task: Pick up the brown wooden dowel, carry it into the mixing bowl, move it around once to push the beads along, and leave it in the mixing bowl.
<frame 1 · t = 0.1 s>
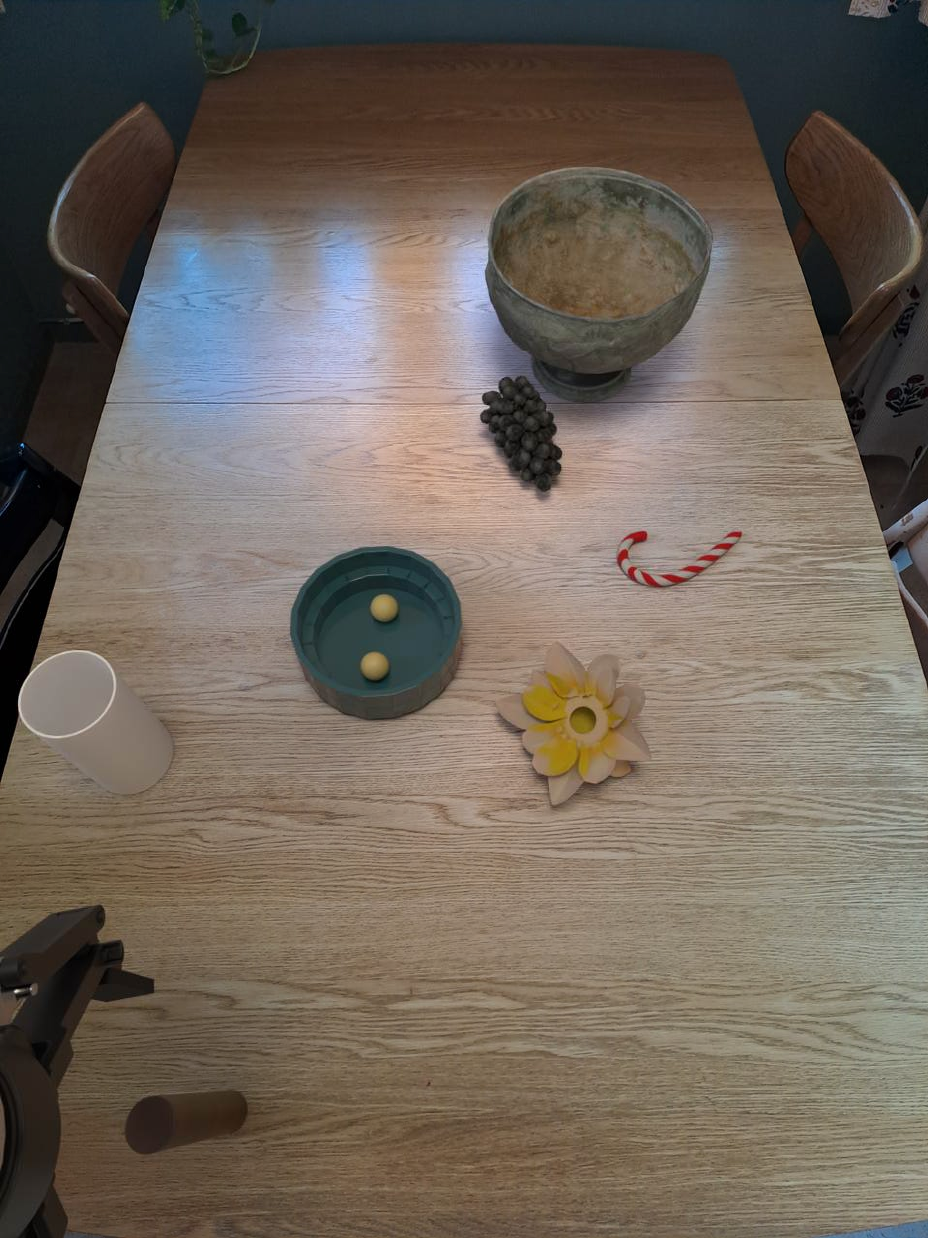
hand: (130, 1126, 45), 29 cm above the table, tool pointing down, fingers open, 13 cm apart
candy cane: (679, 552, 97), on the table
brown wooden dowel: (228, 1112, 70), on the table
bead a: (384, 608, 91), point 2 cm above the table, touching mixing bowl
decorative bowl: (577, 365, 111), on the table
bead b: (374, 666, 87), point 2 cm above the table, touching mixing bowl
mixing bowl: (381, 646, 91), on the table
decorative flower: (567, 731, 87), on the table
fruit: (521, 458, 104), on the table
cup: (133, 756, 85), on the table
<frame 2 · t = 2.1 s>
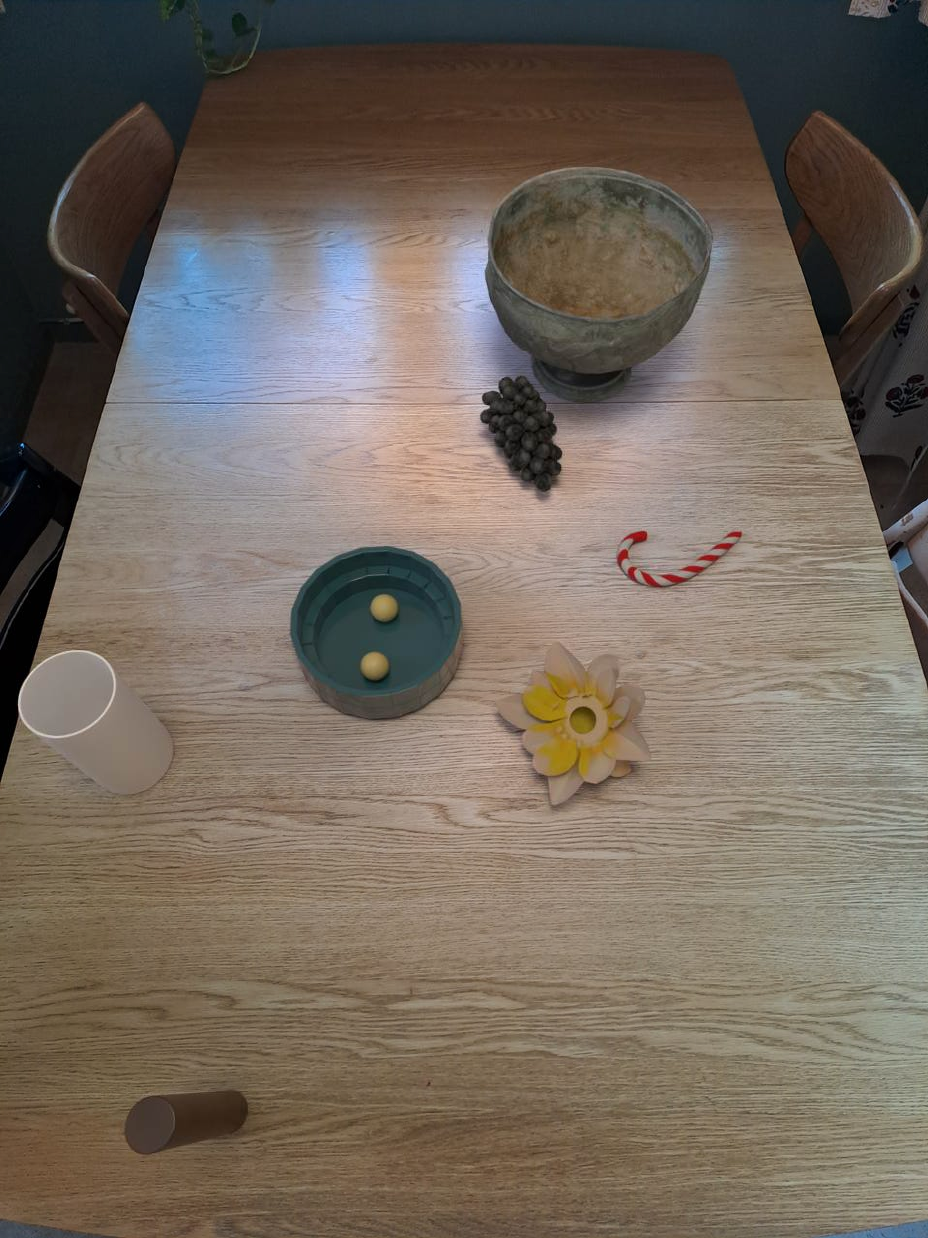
nothing on the table moved.
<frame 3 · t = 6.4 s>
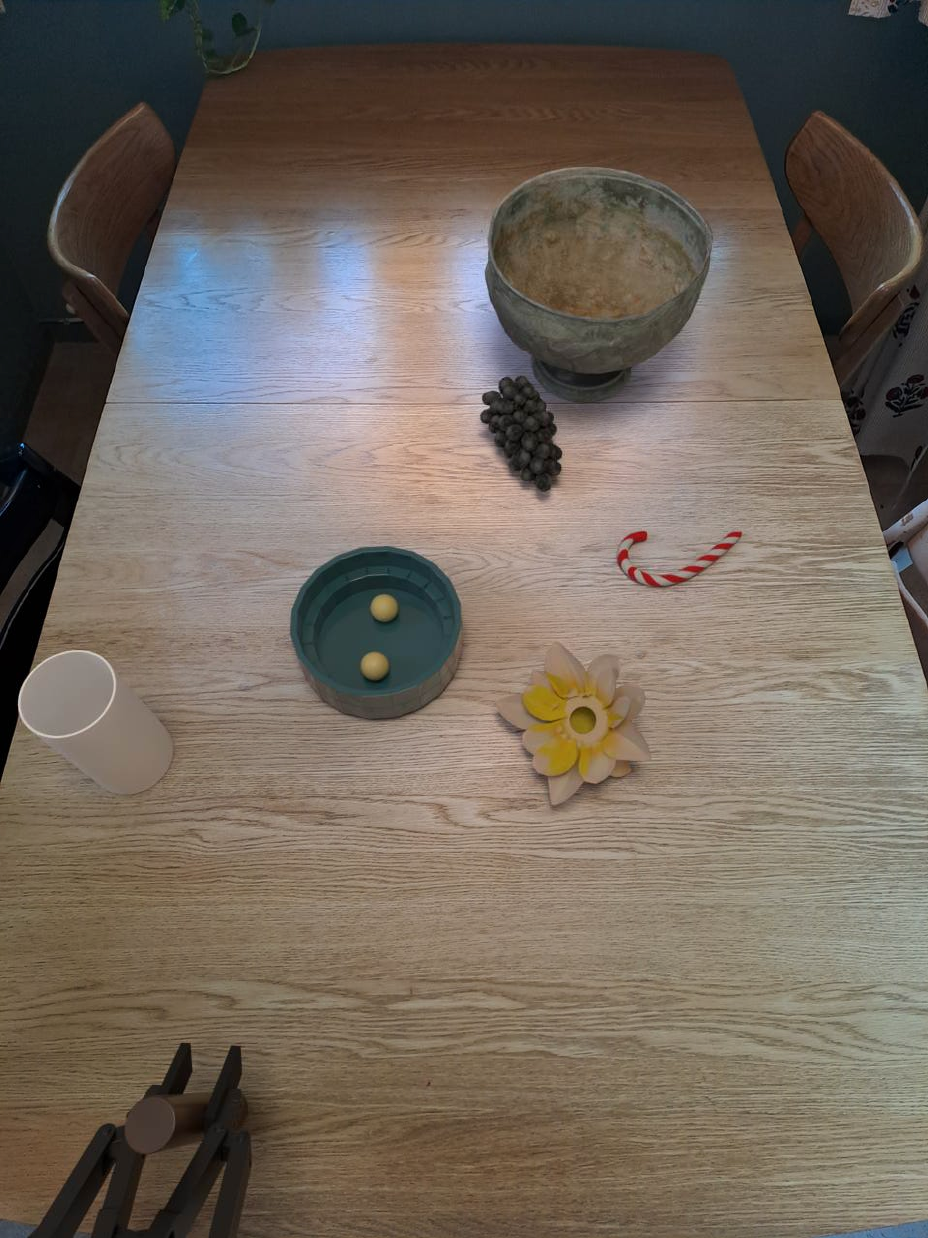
hand: (211, 1058, 65), 8 cm above the table, tool tilted 45°, fingers closed on brown wooden dowel, 3 cm apart
brown wooden dowel: (228, 1112, 70), on the table, touching gripper
everything else where it was.
when the fingers open (9 cm above the table, at t = 22.2 s): brown wooden dowel stays where it is, resting on mixing bowl.
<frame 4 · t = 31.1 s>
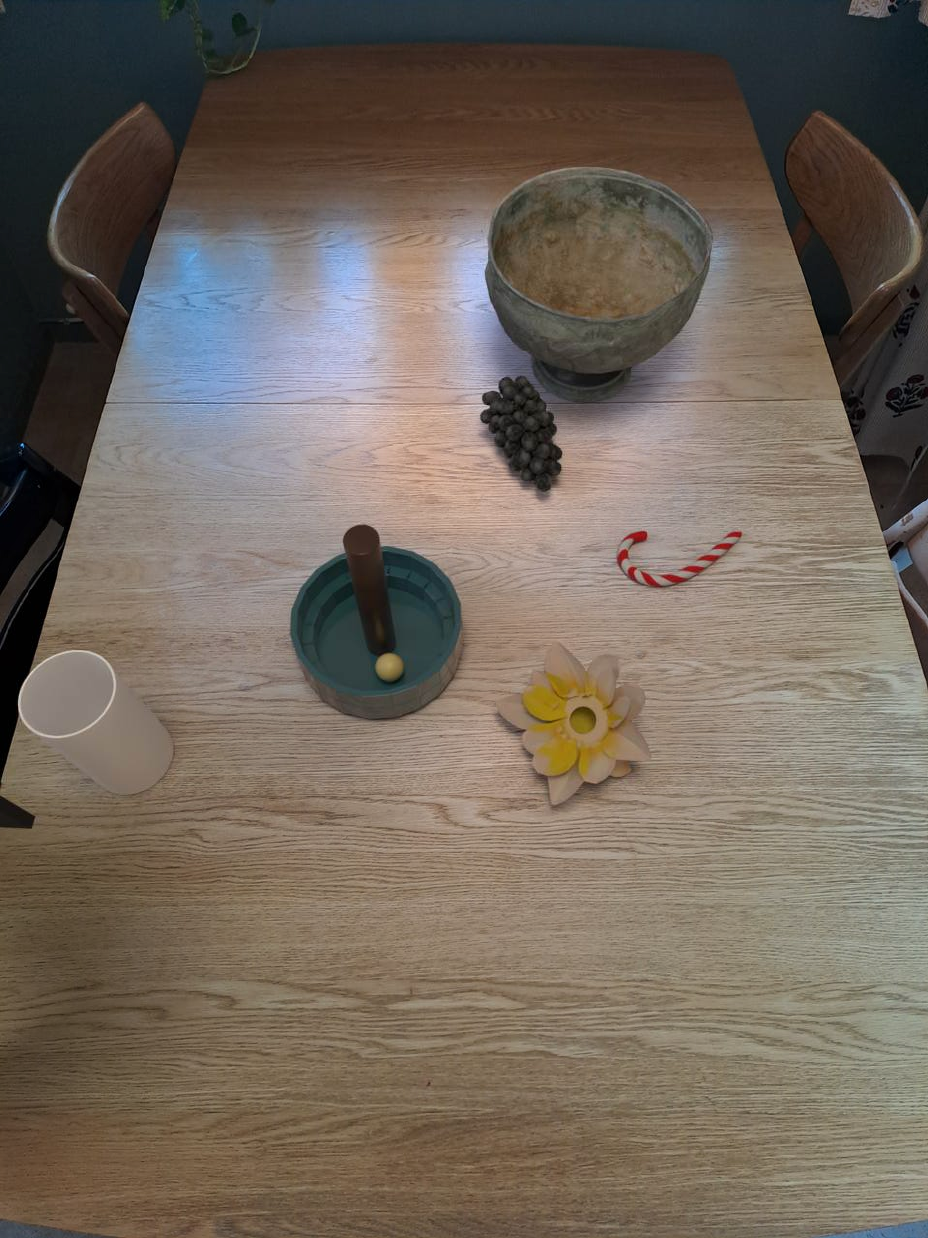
brown wooden dowel: (381, 643, 90), point 1 cm above the table, touching mixing bowl
bead a: (371, 597, 91), point 2 cm above the table, tilted 67°, touching mixing bowl
bead b: (389, 667, 87), point 2 cm above the table, tilted 34°, touching mixing bowl
everything else where it was.
at the end: bead b moved 1.6 cm from its start; bead b inside the target area in the mixing bowl (3.8 cm from its centre), point 2.3 cm above the mixing bowl's base; brown wooden dowel inside the target area in the mixing bowl (0.0 cm from its centre), point 0.8 cm above the mixing bowl's base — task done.
